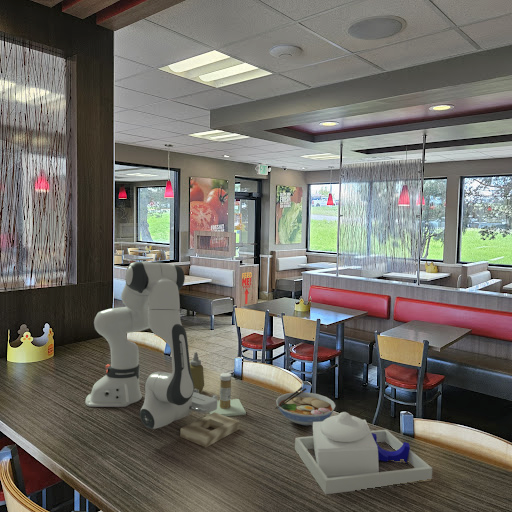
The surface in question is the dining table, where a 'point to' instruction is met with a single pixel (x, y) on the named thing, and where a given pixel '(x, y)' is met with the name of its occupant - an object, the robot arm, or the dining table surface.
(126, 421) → the dining table surface
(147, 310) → the robot arm
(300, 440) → the grey rectangular tray
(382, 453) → the cable clip
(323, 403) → the ramen bowl
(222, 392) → the sprinkles bottle
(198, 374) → the squeeze bottle
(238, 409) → the pad
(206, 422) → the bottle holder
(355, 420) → the white block with dome
